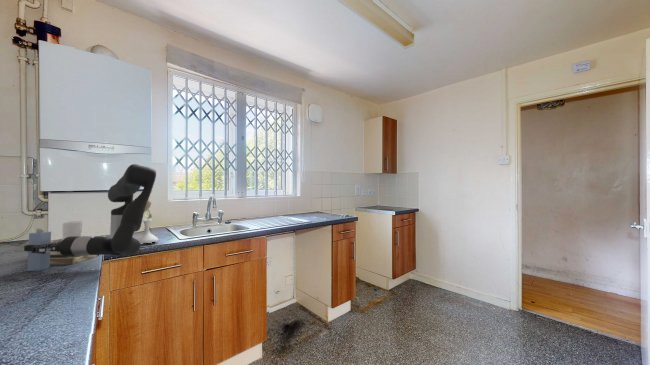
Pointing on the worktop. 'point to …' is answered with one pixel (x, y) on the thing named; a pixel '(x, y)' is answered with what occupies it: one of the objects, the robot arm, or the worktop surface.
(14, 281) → the worktop surface
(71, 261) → the box
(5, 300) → the worktop surface
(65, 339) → the worktop surface
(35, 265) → the blue square bottle
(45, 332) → the worktop surface
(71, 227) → the drinking glass
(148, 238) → the flower in vase
